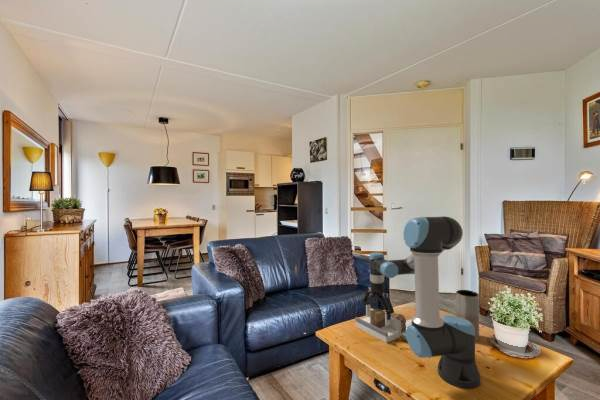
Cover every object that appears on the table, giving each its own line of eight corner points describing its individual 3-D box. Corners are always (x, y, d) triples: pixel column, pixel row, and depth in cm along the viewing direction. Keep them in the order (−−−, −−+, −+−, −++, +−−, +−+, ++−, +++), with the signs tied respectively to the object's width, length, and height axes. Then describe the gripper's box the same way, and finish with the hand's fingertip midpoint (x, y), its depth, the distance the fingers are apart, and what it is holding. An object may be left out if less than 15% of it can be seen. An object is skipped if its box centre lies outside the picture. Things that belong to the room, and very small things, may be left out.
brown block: (385, 326, 154) (385, 311, 154) (376, 329, 150) (375, 314, 150) (378, 322, 158) (378, 308, 158) (369, 325, 155) (368, 311, 155)
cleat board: (401, 336, 148) (401, 321, 148) (386, 342, 142) (386, 327, 142) (370, 321, 167) (369, 307, 167) (355, 326, 161) (355, 312, 161)
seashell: (381, 323, 162) (389, 307, 163) (393, 329, 164) (400, 313, 166) (393, 332, 152) (401, 314, 154) (405, 338, 154) (413, 320, 156)
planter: (482, 342, 142) (482, 296, 141) (461, 340, 143) (460, 295, 143) (473, 332, 151) (473, 290, 151) (453, 331, 153) (453, 289, 153)
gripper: (400, 286, 146) (401, 327, 146) (365, 275, 167) (365, 311, 167) (391, 288, 142) (391, 331, 142) (355, 277, 163) (356, 314, 163)
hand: (377, 320), depth 155 cm, fingers open, 13 cm apart
